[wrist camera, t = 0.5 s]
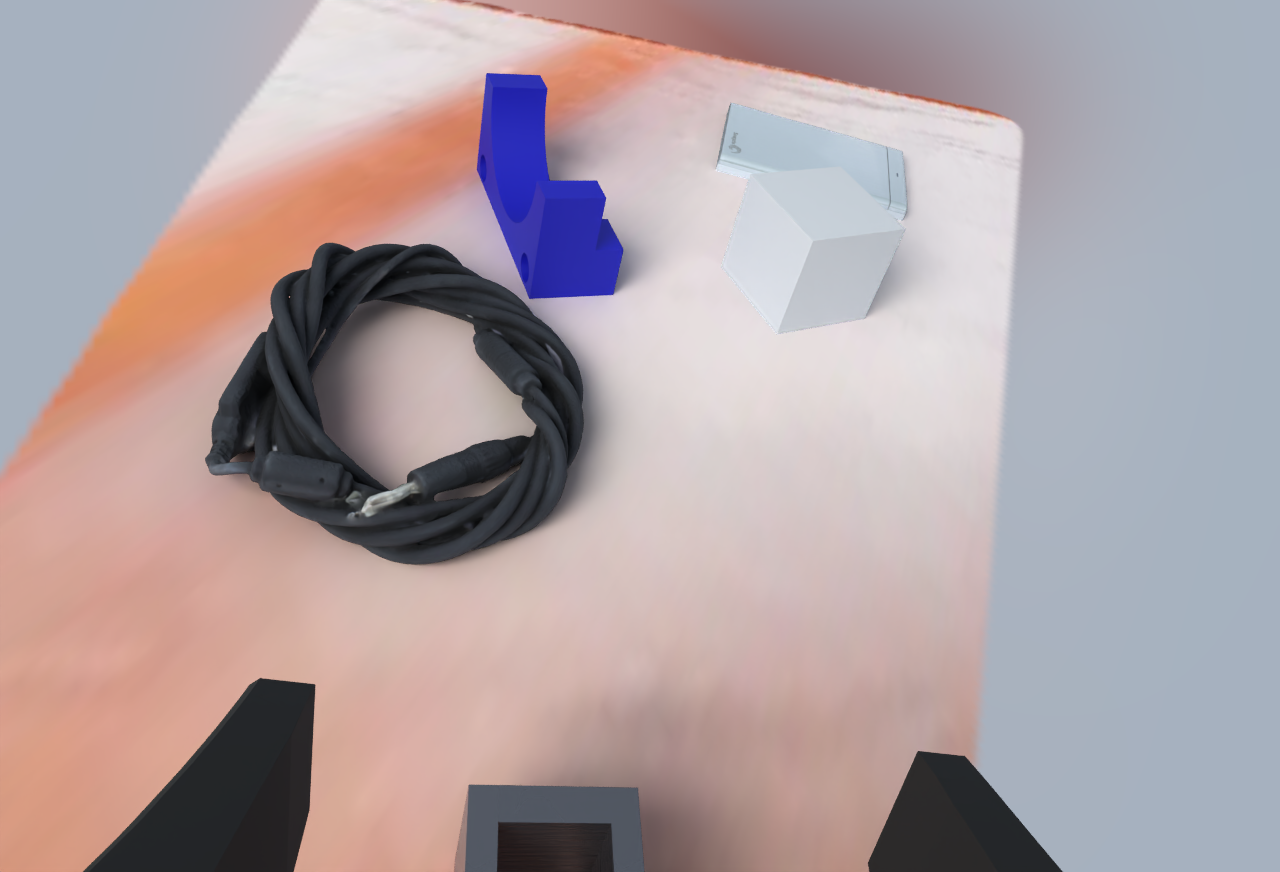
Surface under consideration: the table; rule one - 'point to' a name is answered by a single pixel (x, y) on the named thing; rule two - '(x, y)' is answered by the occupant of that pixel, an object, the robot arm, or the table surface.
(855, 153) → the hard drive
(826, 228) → the light grey cube
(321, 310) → the cable
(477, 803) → the grey open storage bin
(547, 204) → the cable clip
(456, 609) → the table surface
